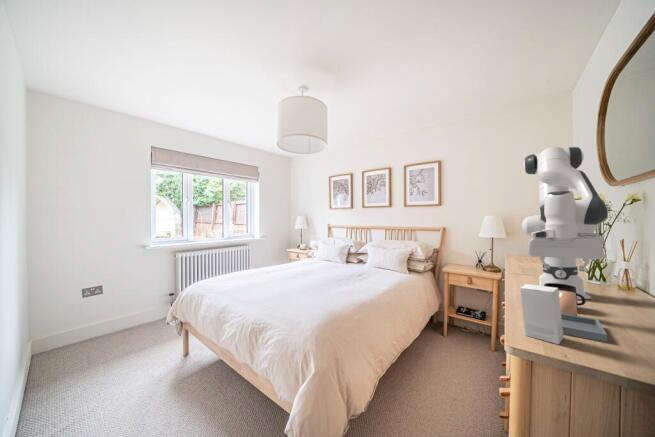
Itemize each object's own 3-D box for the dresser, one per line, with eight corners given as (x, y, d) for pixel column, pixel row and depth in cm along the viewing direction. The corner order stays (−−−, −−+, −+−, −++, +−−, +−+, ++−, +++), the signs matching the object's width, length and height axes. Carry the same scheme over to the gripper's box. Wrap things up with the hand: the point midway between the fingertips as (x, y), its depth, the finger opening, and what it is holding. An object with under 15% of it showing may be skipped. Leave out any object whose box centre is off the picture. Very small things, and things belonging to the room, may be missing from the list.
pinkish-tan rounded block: (557, 312, 92) (555, 289, 92) (576, 315, 88) (574, 291, 89) (558, 317, 88) (556, 292, 88) (578, 320, 84) (576, 295, 85)
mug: (581, 315, 88) (579, 291, 88) (541, 306, 99) (539, 285, 99) (591, 310, 92) (589, 287, 93) (551, 302, 103) (549, 281, 103)
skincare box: (564, 338, 72) (560, 287, 73) (558, 345, 68) (555, 292, 69) (529, 329, 79) (526, 283, 79) (522, 335, 75) (519, 286, 76)
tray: (542, 317, 88) (541, 310, 88) (598, 326, 79) (598, 319, 79) (542, 330, 78) (542, 322, 78) (607, 343, 69) (607, 334, 69)
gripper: (601, 232, 84) (604, 271, 84) (527, 233, 98) (529, 266, 98) (605, 233, 80) (608, 274, 79) (526, 233, 94) (528, 268, 93)
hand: (564, 269), depth 88 cm, fingers open, 8 cm apart
